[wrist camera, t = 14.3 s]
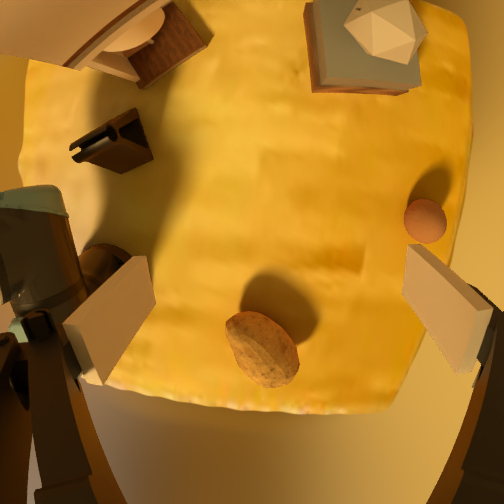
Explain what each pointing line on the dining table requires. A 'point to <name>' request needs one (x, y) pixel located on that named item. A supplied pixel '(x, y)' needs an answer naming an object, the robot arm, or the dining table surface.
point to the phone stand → (115, 144)
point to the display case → (100, 35)
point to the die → (386, 28)
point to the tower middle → (355, 53)
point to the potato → (262, 349)
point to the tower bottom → (314, 65)
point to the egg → (425, 221)
